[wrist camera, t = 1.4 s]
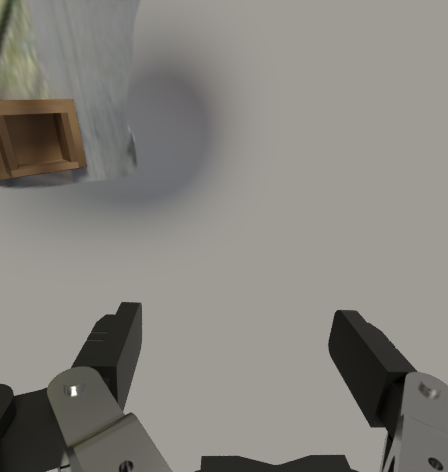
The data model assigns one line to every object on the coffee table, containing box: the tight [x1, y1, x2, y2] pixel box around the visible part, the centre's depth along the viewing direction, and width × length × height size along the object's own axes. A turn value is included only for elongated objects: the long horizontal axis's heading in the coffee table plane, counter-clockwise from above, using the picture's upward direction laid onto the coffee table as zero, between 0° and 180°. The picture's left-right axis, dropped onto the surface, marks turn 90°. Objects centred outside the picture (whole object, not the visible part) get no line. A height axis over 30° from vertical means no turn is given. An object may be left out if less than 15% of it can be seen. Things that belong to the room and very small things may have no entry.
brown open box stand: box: [0, 99, 87, 180], centre depth 39 cm, size 12×9×5 cm
